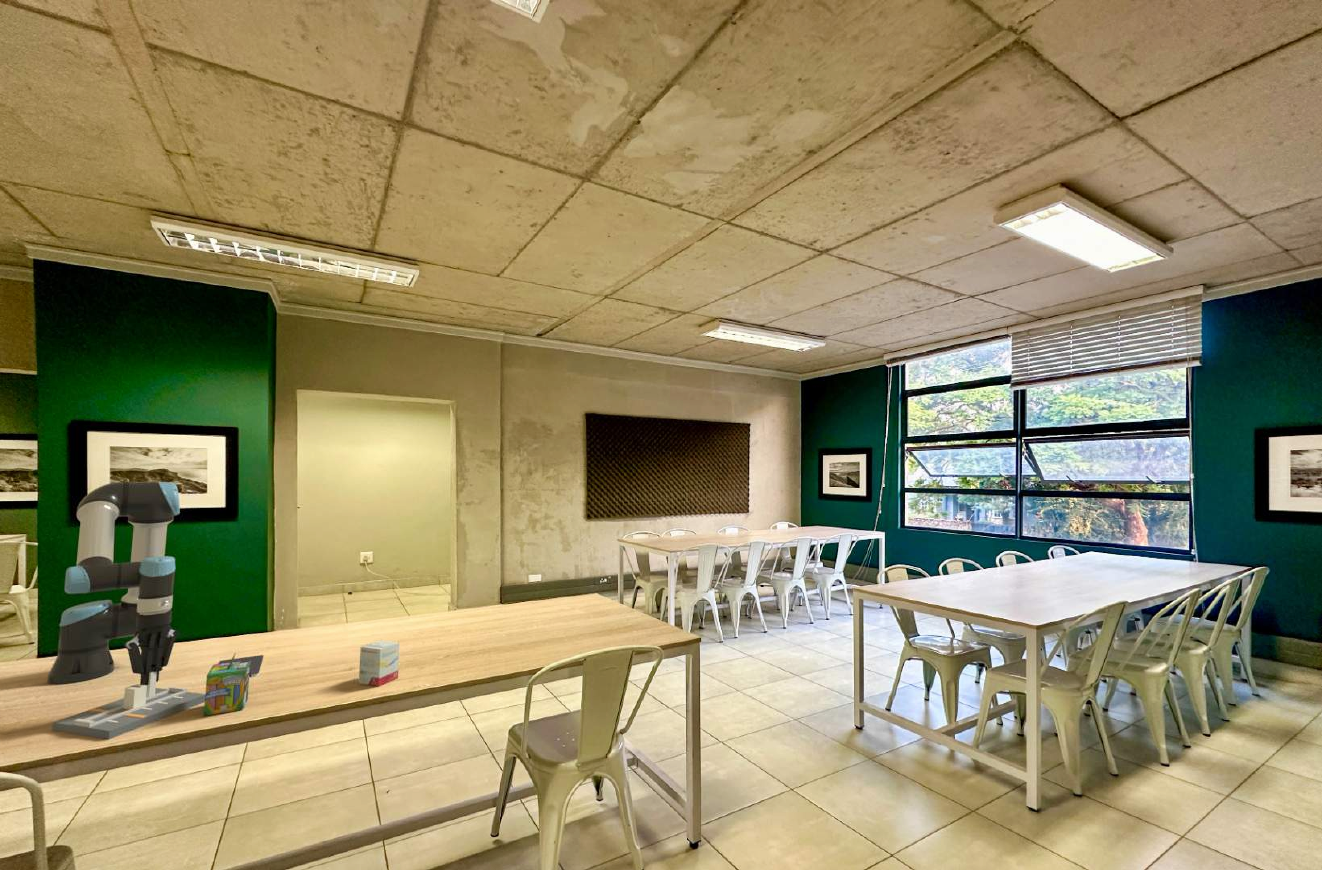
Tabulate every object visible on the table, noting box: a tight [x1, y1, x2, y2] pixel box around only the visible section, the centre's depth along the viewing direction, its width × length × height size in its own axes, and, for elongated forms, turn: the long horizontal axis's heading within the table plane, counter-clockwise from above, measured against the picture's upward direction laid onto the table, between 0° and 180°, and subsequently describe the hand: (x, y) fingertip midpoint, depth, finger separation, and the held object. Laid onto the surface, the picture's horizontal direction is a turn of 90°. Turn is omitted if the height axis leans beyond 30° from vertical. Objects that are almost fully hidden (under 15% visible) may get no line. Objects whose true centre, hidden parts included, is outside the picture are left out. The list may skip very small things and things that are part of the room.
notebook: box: [217, 654, 264, 678], centre depth 189 cm, size 13×2×21 cm
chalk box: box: [203, 652, 251, 717], centre depth 159 cm, size 9×9×15 cm
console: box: [51, 686, 206, 740], centre depth 153 cm, size 20×24×3 cm
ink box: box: [358, 639, 400, 687], centre depth 180 cm, size 9×9×12 cm
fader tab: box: [123, 683, 147, 709], centre depth 153 cm, size 4×3×6 cm
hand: (148, 695), depth 157 cm, fingers closed
